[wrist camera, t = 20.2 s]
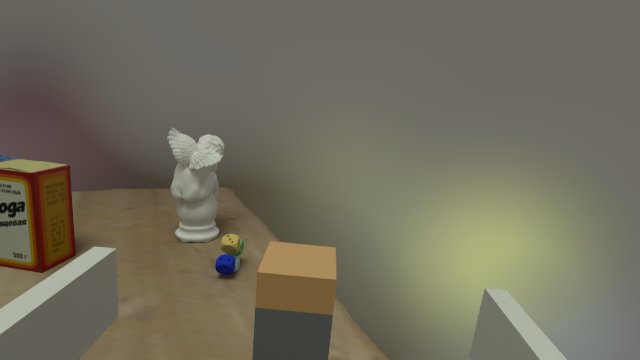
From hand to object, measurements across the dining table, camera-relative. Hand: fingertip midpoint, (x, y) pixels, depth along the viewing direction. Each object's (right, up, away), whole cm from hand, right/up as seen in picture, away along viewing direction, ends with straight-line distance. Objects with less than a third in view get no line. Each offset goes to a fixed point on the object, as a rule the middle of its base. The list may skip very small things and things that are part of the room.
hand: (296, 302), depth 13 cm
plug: (-2, -19, +16) cm, 25 cm away
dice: (-14, -11, +49) cm, 52 cm away
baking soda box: (-46, -9, +47) cm, 66 cm away
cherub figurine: (-23, -7, +61) cm, 66 cm away
